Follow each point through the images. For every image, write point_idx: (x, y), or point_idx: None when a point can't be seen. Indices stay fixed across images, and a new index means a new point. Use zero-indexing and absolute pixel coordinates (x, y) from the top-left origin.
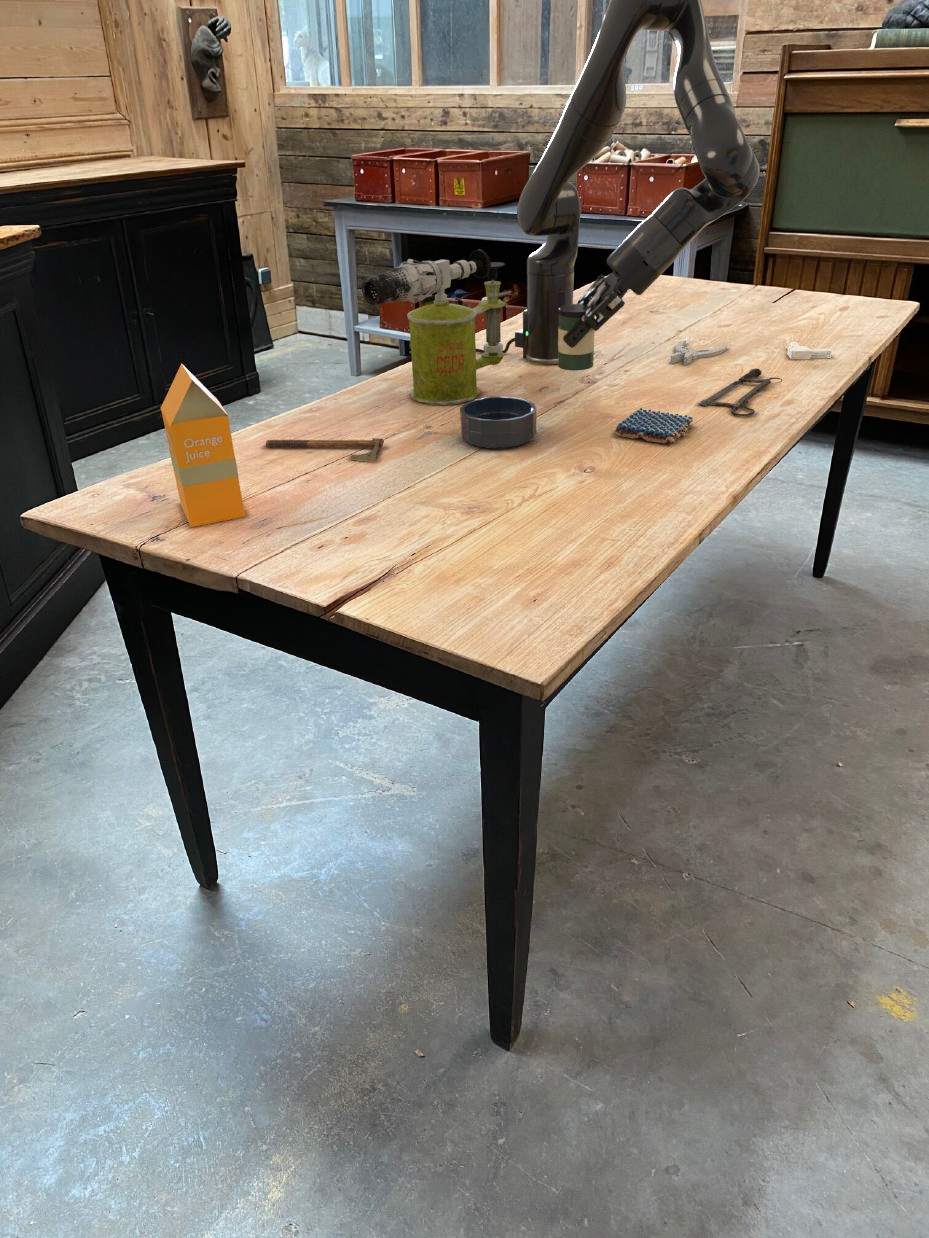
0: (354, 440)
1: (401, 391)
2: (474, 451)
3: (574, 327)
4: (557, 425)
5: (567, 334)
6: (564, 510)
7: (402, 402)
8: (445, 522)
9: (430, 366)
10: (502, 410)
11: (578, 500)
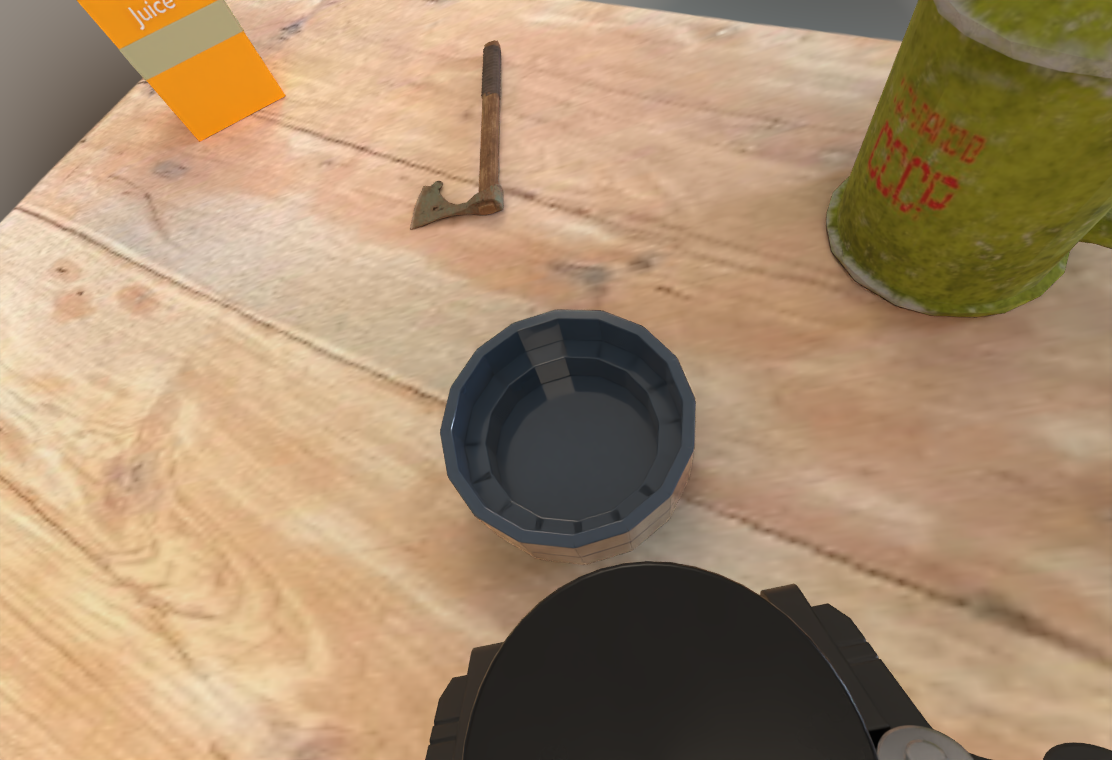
0: (490, 158)
1: None
2: None
3: (457, 745)
4: None
5: (467, 678)
6: (55, 710)
7: (827, 157)
8: (84, 435)
9: (870, 131)
10: (678, 426)
11: (102, 750)
